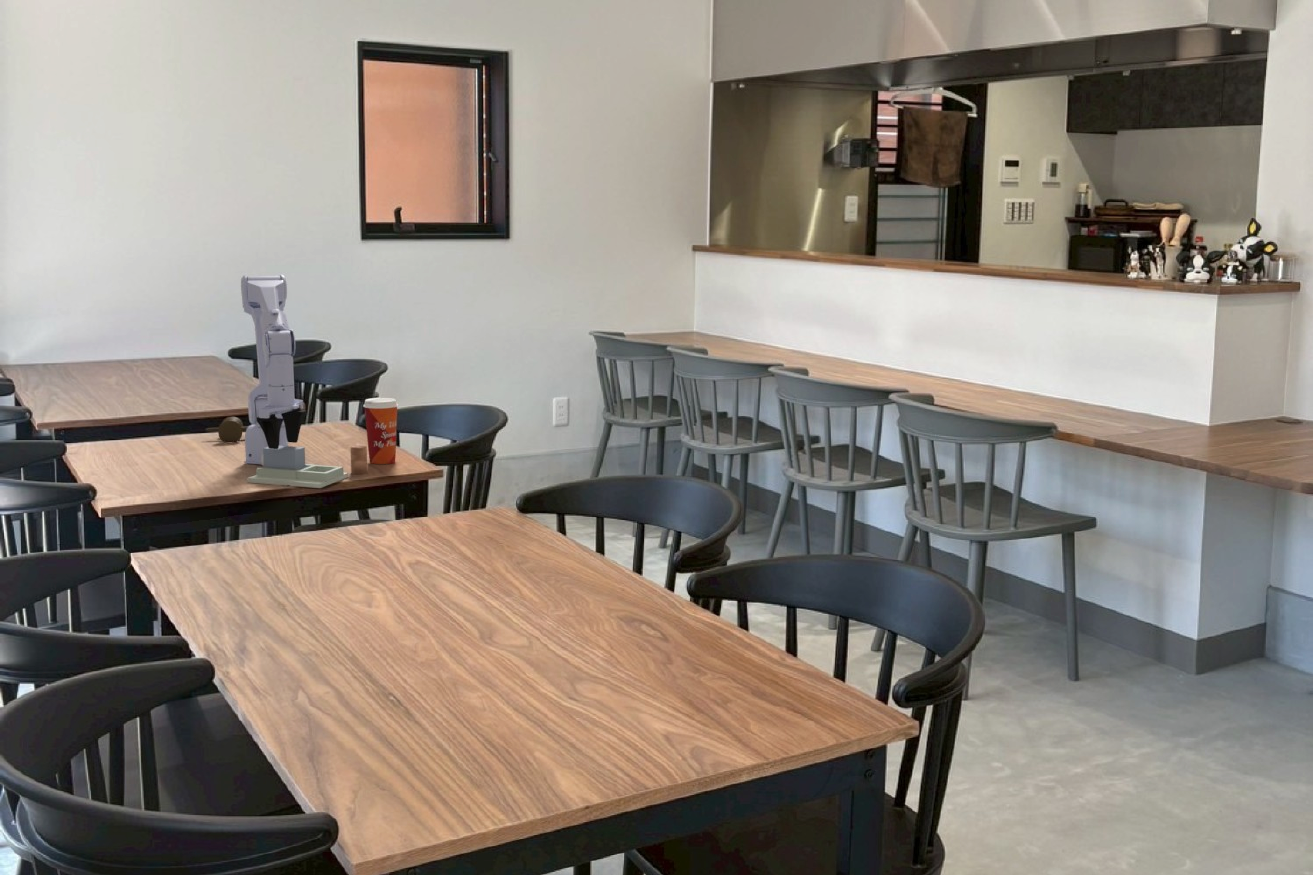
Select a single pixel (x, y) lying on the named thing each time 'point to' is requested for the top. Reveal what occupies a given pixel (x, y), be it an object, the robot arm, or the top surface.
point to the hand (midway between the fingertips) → (283, 445)
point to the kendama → (230, 429)
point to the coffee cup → (381, 429)
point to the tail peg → (358, 460)
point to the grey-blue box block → (284, 458)
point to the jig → (300, 476)
